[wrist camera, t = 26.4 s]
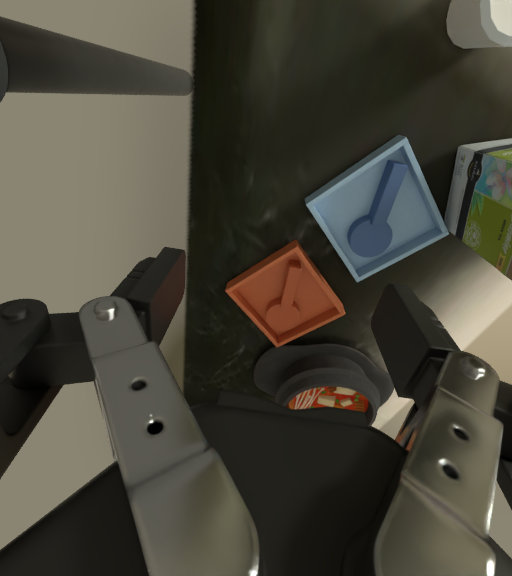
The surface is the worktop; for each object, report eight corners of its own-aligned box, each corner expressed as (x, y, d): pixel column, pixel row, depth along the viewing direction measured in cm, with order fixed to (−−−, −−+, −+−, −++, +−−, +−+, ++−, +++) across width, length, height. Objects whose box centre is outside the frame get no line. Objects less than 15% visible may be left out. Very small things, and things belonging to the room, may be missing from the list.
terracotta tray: (227, 282, 45) (224, 291, 43) (296, 238, 41) (296, 246, 39) (277, 337, 50) (277, 347, 48) (342, 304, 46) (345, 314, 44)
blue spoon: (372, 157, 34) (378, 160, 32) (416, 164, 34) (425, 168, 32) (342, 248, 41) (345, 256, 38) (379, 254, 41) (384, 262, 39)
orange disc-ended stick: (276, 257, 42) (276, 265, 40) (313, 263, 42) (314, 271, 40) (263, 321, 48) (262, 330, 46) (295, 326, 48) (296, 336, 46)
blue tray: (304, 198, 38) (305, 204, 36) (398, 134, 33) (406, 136, 31) (353, 273, 43) (357, 282, 41) (440, 226, 39) (449, 234, 36)
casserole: (242, 388, 58) (237, 429, 51) (273, 317, 48) (272, 355, 41) (360, 419, 61) (371, 462, 54) (412, 357, 51) (434, 399, 44)
